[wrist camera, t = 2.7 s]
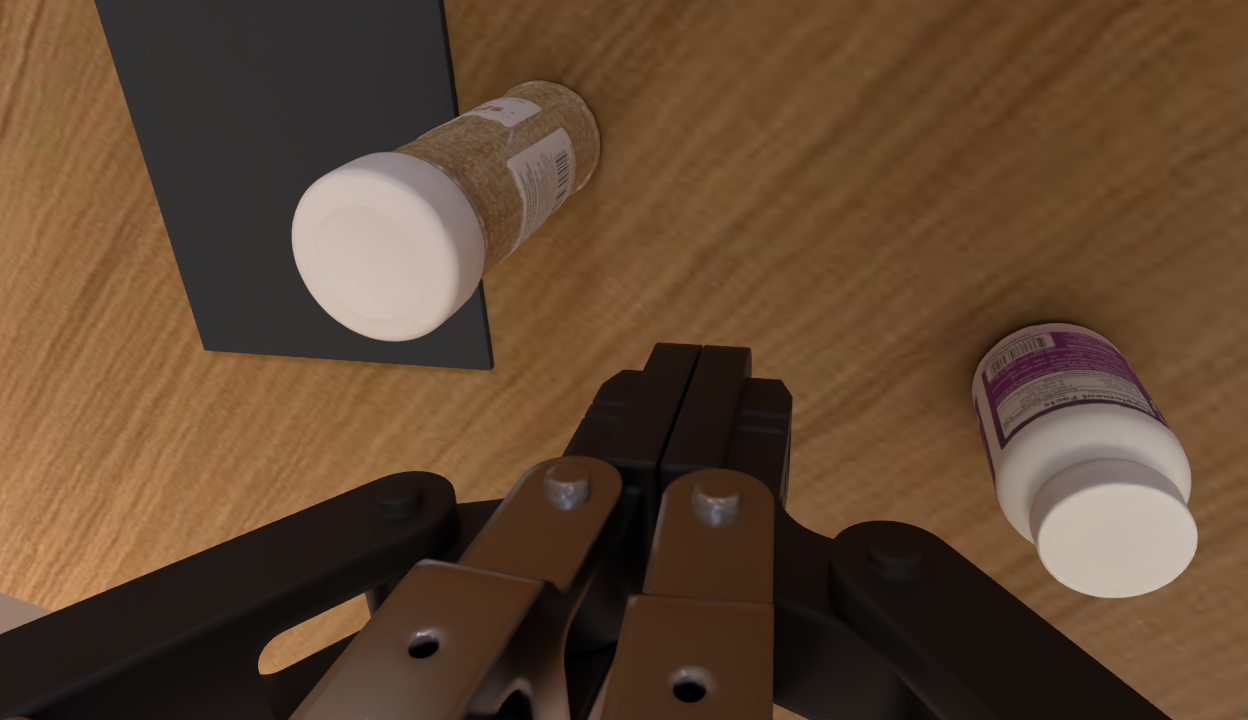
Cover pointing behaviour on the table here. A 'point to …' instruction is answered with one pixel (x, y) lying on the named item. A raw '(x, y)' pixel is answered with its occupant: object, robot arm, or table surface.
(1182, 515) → the pill bottle
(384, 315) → the sprinkles bottle
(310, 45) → the mat
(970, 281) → the table surface
